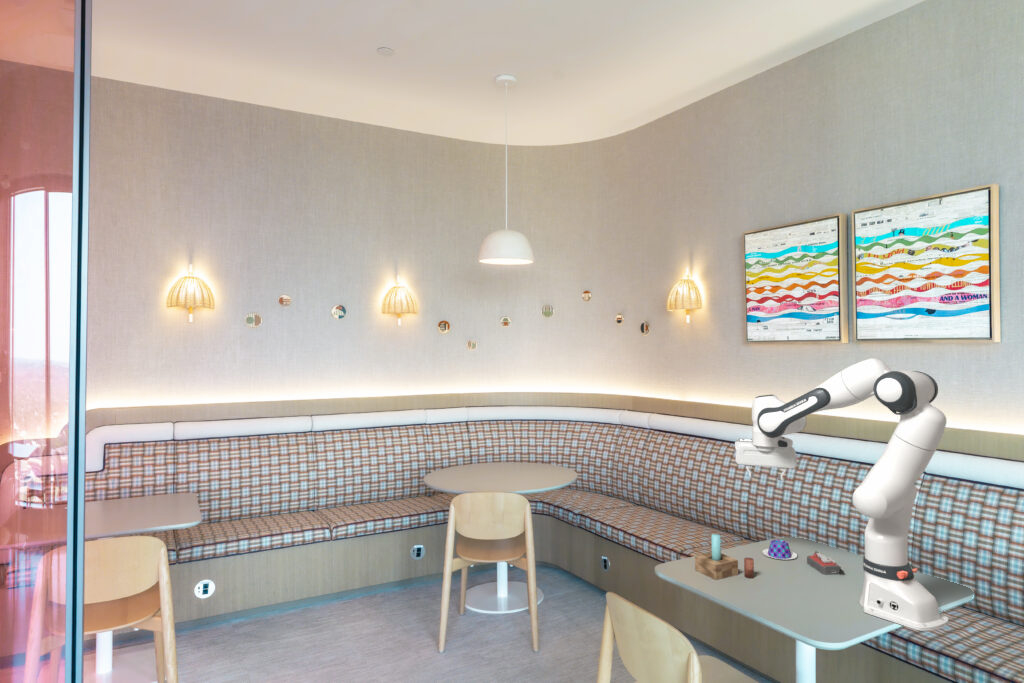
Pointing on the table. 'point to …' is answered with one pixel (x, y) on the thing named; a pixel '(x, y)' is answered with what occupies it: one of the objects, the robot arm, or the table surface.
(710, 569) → the hole block
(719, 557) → the long pin
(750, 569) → the short pin
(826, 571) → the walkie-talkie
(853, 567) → the table surface
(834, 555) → the table surface
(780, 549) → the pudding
